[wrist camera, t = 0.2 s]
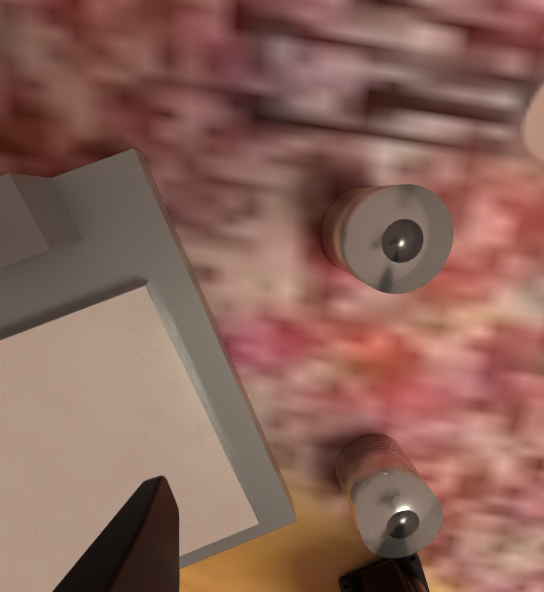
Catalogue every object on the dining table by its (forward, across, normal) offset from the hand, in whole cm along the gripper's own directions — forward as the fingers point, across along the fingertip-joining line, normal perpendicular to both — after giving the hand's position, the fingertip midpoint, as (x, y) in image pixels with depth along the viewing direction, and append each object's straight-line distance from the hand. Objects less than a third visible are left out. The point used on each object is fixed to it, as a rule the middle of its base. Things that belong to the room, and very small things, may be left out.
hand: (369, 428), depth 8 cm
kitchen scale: (+14, +14, +4) cm, 20 cm away
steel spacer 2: (+14, -3, +15) cm, 21 cm away
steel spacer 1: (+14, -6, -2) cm, 15 cm away
